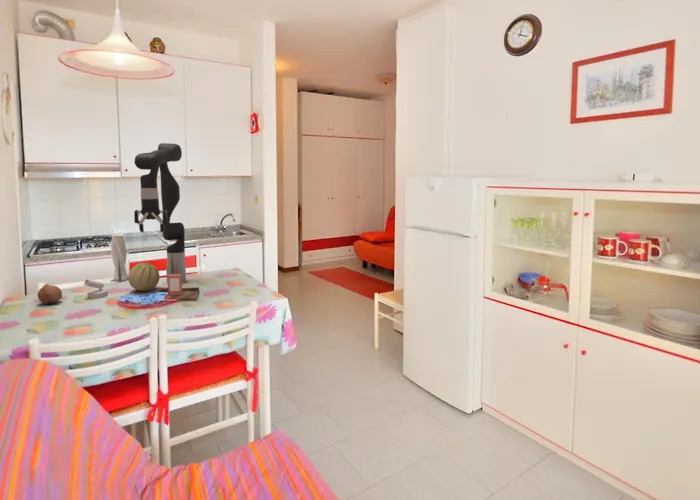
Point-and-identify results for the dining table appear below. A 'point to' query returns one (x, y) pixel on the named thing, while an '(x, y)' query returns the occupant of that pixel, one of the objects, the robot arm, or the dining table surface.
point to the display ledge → (187, 295)
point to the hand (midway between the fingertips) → (152, 232)
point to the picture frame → (175, 284)
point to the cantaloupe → (143, 277)
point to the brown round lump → (49, 294)
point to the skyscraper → (119, 257)
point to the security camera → (97, 292)
